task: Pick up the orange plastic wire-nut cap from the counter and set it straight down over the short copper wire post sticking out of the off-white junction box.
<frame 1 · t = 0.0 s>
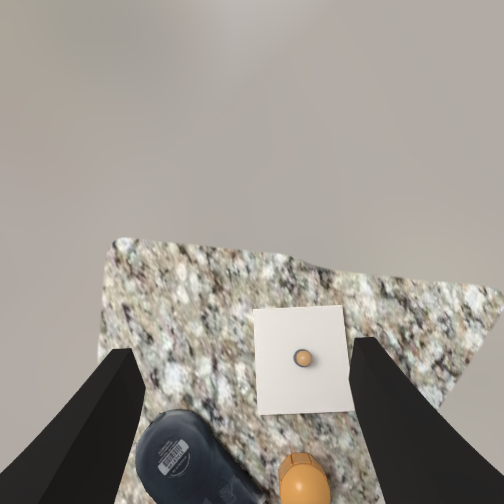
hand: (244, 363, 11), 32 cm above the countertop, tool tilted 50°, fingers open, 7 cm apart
wire nut cap: (300, 477, 38), on the countertop
junction box: (299, 357, 42), on the countertop
electronic device: (196, 469, 39), on the countertop
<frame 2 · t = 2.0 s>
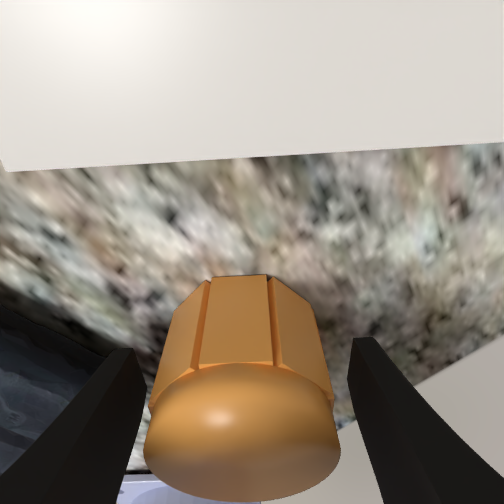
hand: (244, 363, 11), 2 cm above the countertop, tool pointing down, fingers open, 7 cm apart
wire nut cap: (244, 330, 12), on the countertop
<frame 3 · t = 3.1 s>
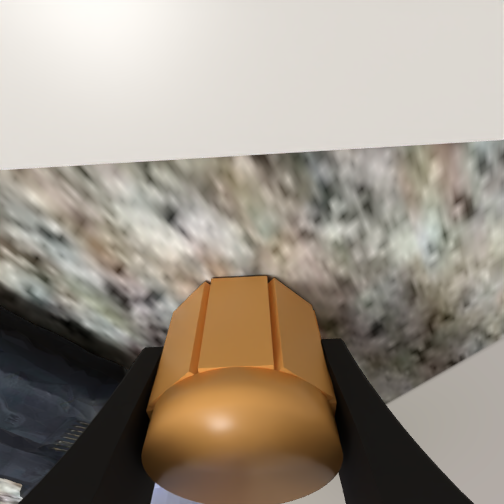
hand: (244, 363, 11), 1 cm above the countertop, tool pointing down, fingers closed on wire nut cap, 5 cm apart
wire nut cap: (244, 331, 12), on the countertop, touching gripper
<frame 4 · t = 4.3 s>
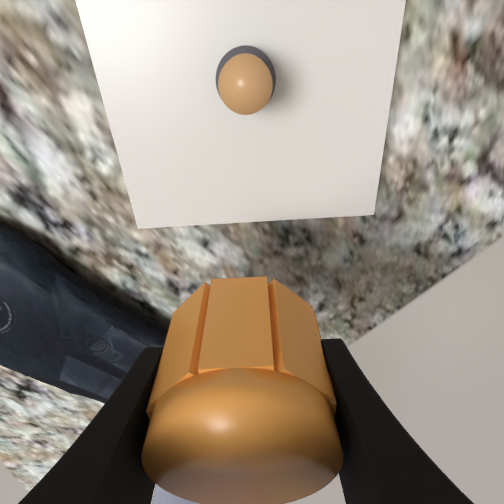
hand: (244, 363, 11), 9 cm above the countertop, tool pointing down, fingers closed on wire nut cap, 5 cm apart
wire nut cap: (244, 332, 12), point 7 cm above the countertop, touching gripper
junction box: (246, 72, 14), on the countertop
electronic device: (55, 301, 21), on the countertop
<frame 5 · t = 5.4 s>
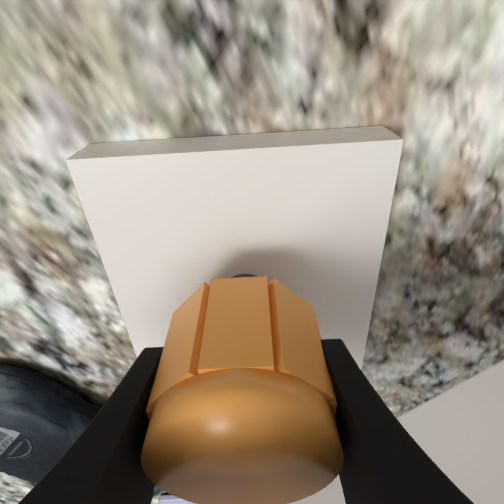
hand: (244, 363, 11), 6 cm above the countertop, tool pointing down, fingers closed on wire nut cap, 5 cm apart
wire nut cap: (244, 332, 12), point 4 cm above the countertop, touching gripper
junction box: (245, 265, 16), on the countertop
electronic device: (68, 414, 23), on the countertop
when the fingers open (4 cm above the countertop, at t = 6.1 s): wire nut cap drops 1 cm, resting on junction box.
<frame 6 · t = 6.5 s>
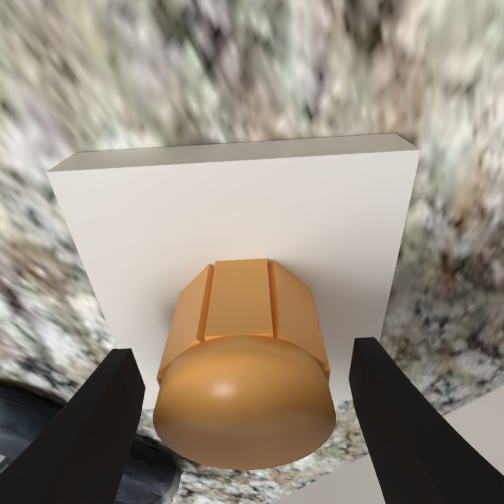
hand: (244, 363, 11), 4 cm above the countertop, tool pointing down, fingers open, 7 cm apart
wire nut cap: (245, 312, 13), point 2 cm above the countertop, touching junction box
junction box: (245, 281, 15), on the countertop
electronic device: (60, 432, 22), on the countertop
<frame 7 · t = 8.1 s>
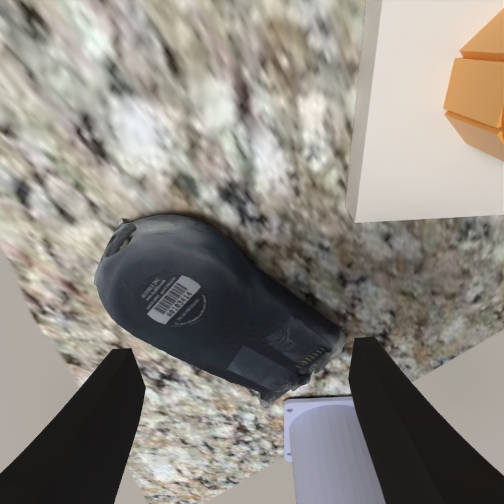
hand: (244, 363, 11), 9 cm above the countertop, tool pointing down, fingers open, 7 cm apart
junction box: (481, 75, 15), on the countertop
electronic device: (218, 294, 22), on the countertop
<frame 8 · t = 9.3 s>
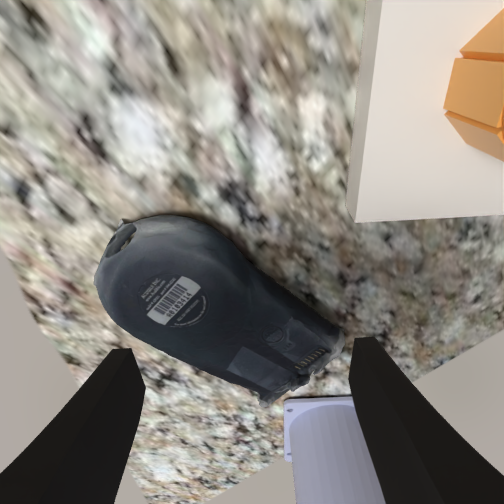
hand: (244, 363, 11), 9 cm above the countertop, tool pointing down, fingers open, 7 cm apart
junction box: (481, 75, 15), on the countertop
electronic device: (218, 295, 22), on the countertop
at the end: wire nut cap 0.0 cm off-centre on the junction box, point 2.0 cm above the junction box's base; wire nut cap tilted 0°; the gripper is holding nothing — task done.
